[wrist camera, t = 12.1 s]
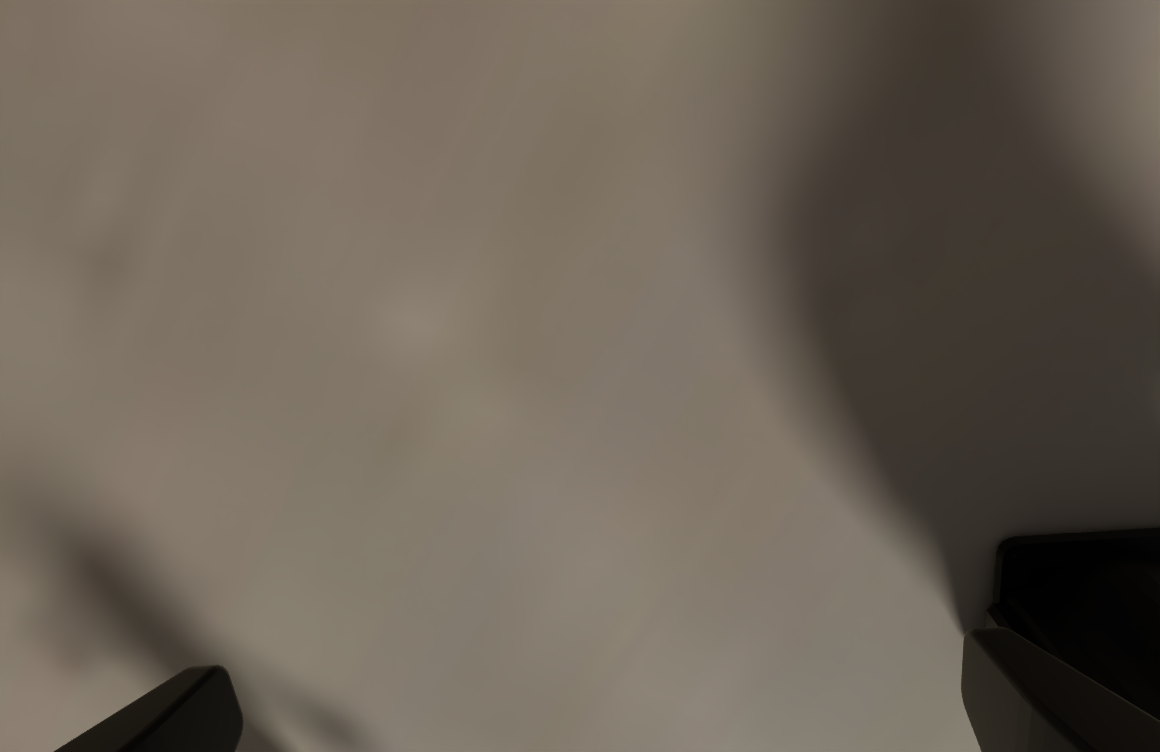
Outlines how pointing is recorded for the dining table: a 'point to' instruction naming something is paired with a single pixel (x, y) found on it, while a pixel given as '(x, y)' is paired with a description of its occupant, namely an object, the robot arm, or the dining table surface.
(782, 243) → the dining table surface
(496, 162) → the dining table surface
